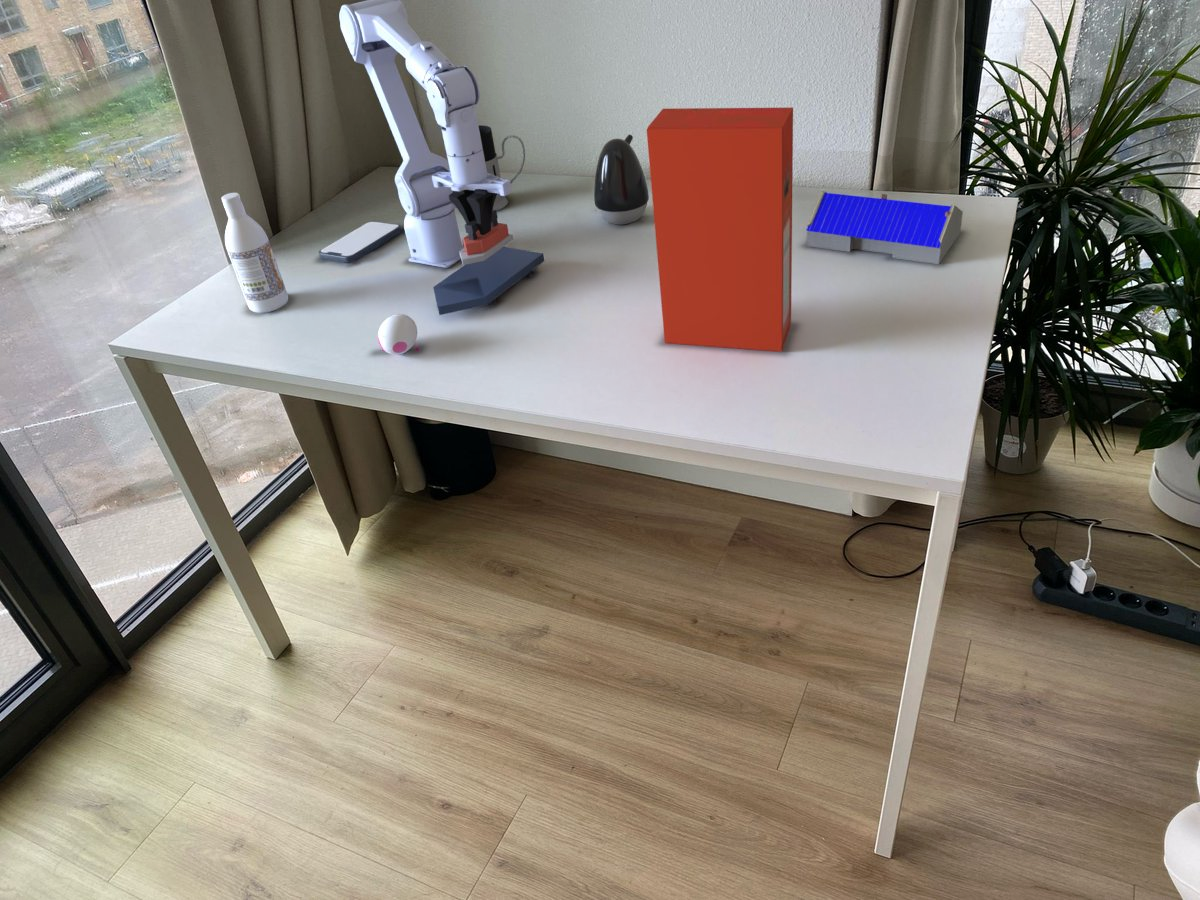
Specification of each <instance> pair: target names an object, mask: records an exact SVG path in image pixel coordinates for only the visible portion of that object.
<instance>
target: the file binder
mask: <svg viewBox="0 0 1200 900" xmlns="http://www.w3.org/2000/svg"><path fill="white" fill-rule="evenodd" d="M646 139H647V151H648V162H649V163H648V165H649V173H650V175H649V176H650V185H651V186H650V187H651V197H652V198H651V199H652V209H653V219H654V220H653V221H654V222H653V223H654V232H655V233H654V234H655V244H656V255H657V256H656V257H657V267H658V268H657V269H658V278H659V279H658V280H659V291H660V293H659V294H660V304H661V314H662V326H663V338H664V343H665V344H673V345H685V346H697V347H698V346H699V347H711V348H722V349H723V348H724V349H725V348H726V349H737V350H751V351H763V352H776V353H777V352H778V353H782V352H783V350H784V348H785V344H786V342H787V339H788V335H789V333H790V329H791V325H792V281H793V280H792V279H793V278H792V277H793V275H792V274H793V273H792V272H793V270H792V269H793V268H792V266H793V265H792V264H793V261H792V260H793V174H794V173H793V172H794V171H793V170H794V169H793V168H794V167H793V162H794V161H793V160H794V157H793V155H794V107H792V106H791V107H699V108H698V107H697V108H696V107H695V108H694V107H693V108H688V107H687V108H686V107H685V108H681V107H680V108H662V109H661V110H660V112H659V113H658V114H657V115H656V117H655V118H654V119H653V120H652V121H651V122H650V123H649V125H648V126H647V128H646Z"/></svg>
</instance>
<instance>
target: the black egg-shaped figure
mask: <svg viewBox="0 0 1200 900" xmlns="http://www.w3.org/2000/svg"><path fill="white" fill-rule="evenodd" d="M633 139H634V136H633V135H632V134H627V136H626V137H625V138H624V139H622V138H612V139H610V140H608V141H607V142H606V143H605V144H604V145H603V147H602V149H601V151H600V153H599V156H598V160H597V164H596V170H595V177H594V187H593V191H594V192H593V201H594V205H595V207H596V209H597V210H598V213H599V214H600V216H601V217H602V219H604V220H605V221H606V222H608V223H610V224H614V225H627V224H631V223H633V222H636V221H637V220H639V219H640V218H641V217H642V216H643V214H644V213H645V212H646V210H647V206H648V201H649V200H650V195H649V189H648V183H647V181H646V176H645V172H644V170H643V167H642V165H641V162H640V160H639V157H638V156H637V154H636V152H635V150H634V149H633V147H632V146H631V143H632V142H633Z"/></svg>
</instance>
